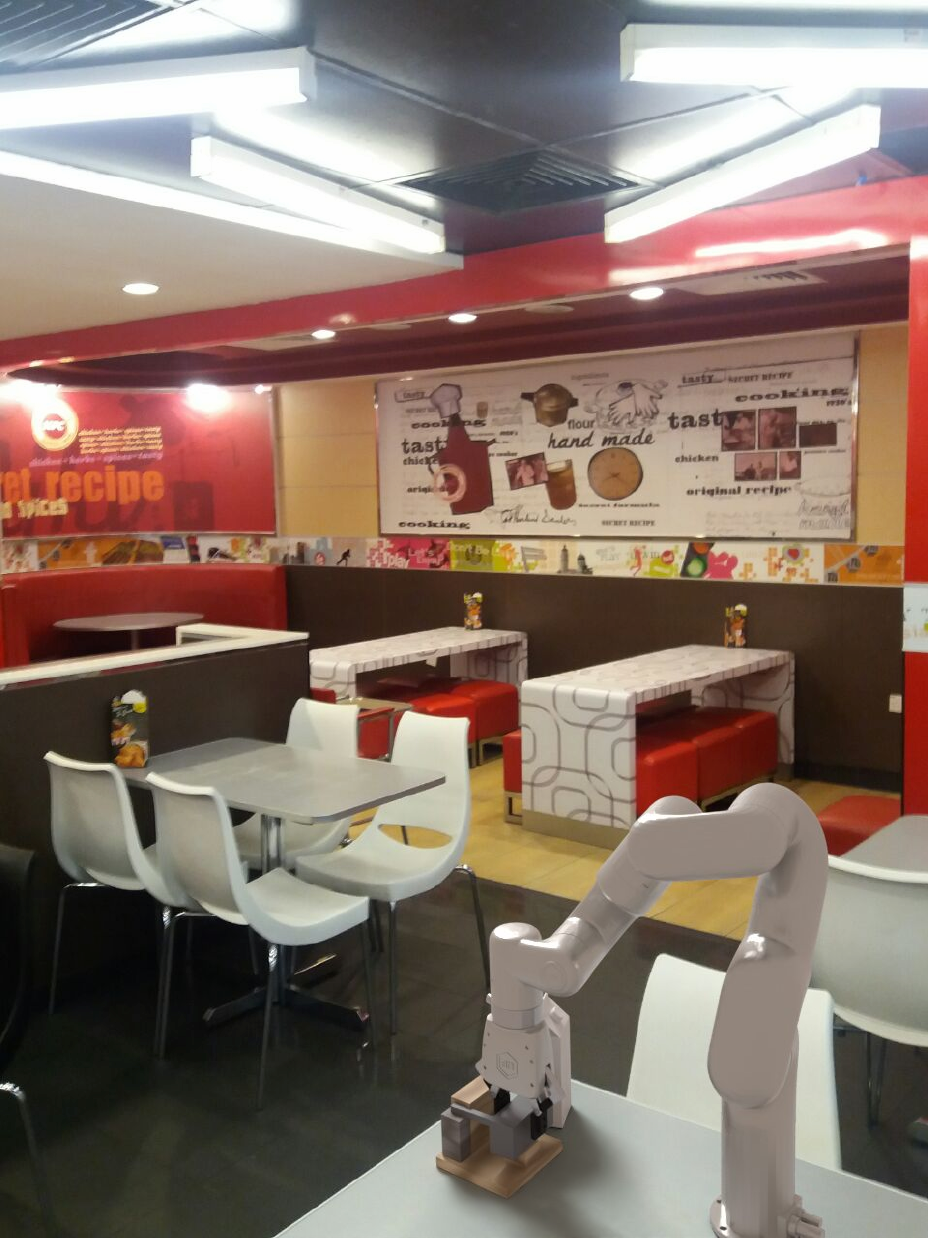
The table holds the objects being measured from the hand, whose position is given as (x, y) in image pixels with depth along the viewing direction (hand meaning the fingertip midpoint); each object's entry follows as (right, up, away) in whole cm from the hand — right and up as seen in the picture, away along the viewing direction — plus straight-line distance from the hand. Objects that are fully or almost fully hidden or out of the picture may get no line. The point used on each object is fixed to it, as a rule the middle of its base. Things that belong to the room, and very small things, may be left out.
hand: (520, 1127), depth 164 cm
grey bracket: (-3, -2, +3) cm, 5 cm away
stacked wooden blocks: (-3, -6, +3) cm, 7 cm away
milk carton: (+5, -5, +14) cm, 16 cm away
